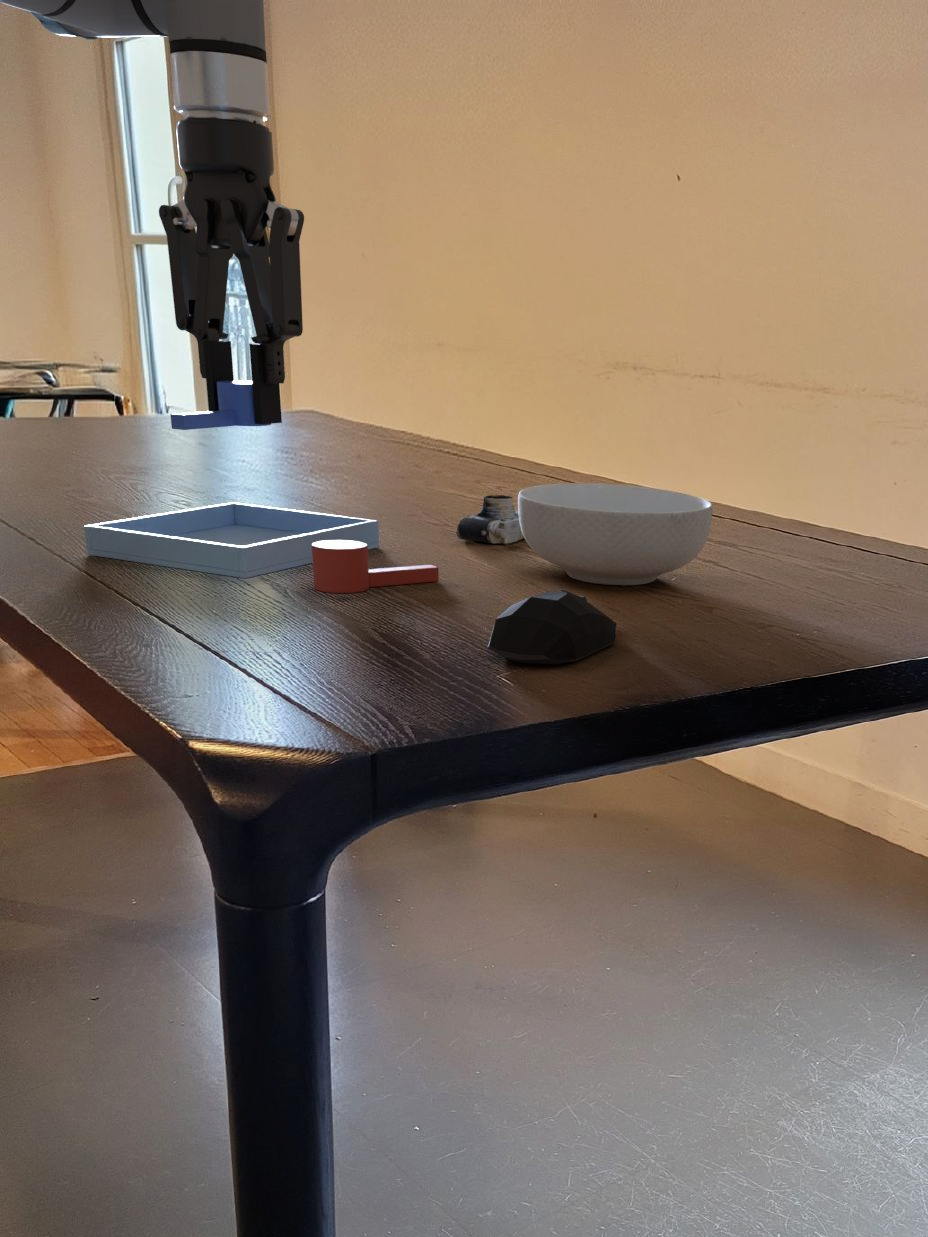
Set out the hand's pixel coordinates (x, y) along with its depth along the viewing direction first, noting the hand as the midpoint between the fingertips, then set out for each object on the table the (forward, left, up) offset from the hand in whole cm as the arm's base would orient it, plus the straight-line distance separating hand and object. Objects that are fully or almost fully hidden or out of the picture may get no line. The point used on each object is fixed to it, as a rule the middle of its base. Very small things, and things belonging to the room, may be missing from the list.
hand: (245, 420), depth 115 cm
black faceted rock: (+41, -17, -11) cm, 45 cm away
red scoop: (+18, -7, -11) cm, 22 cm away
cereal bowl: (+33, +8, -11) cm, 36 cm away
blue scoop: (0, -3, 0) cm, 3 cm away
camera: (+15, +20, -11) cm, 28 cm away
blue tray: (0, -2, -11) cm, 11 cm away
